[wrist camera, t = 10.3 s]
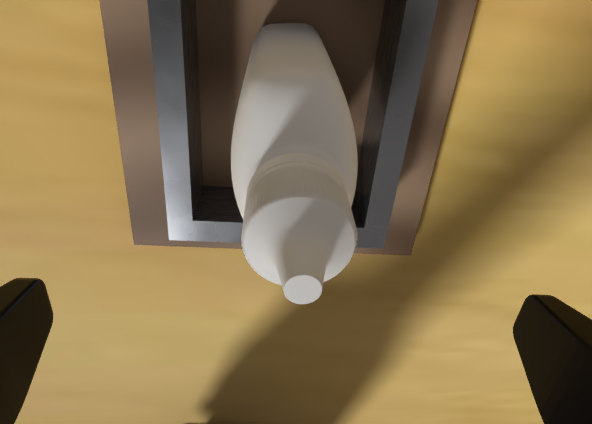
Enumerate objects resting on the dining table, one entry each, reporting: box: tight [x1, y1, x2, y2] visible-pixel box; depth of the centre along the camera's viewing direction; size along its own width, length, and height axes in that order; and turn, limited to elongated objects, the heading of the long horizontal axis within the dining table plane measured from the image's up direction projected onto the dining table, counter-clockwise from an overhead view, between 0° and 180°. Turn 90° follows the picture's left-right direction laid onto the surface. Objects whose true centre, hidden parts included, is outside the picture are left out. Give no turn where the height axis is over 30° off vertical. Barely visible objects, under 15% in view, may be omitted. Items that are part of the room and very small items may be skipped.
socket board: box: [100, 0, 477, 255], centre depth 18 cm, size 16×14×1 cm
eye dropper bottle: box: [231, 23, 358, 304], centre depth 13 cm, size 4×6×12 cm
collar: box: [147, 0, 439, 249], centre depth 17 cm, size 11×9×3 cm
